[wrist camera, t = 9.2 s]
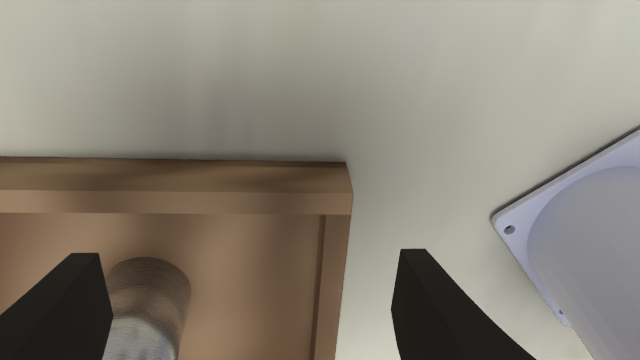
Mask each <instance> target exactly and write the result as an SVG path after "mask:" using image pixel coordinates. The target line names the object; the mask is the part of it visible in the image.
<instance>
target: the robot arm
mask: <svg viewBox="0 0 640 360" xmlns="http://www.w3.org/2000/svg"><path fill="white" fill-rule="evenodd" d="M492 224H493V226H494V227H495V229H496V230H497V232H498V233H499V234H500V236H501V237H502V239H503V240H504V242H505V243H506V245H507V246H508V247H509V249H510V250H511V252H512V253H513V255H514V256H515V258H516V259H517V260H518V262H519V263H520V265H521V266H522V268H523V269H524V270H525V272H526V273H527V275H528V276H529V278H530V279H531V281H532V282H533V283H534V285H535V286H536V288H537V289H538V291H539V292H540V293H541V295H542V296H543V298H544V299H545V301H546V302H547V304H548V305H549V306H550V308H551V309H552V311H553V312H554V314H555V315H556V316H557V318H558V319H559V321H560V322H561V324H562V325H564V326H572V327H573V329H574V330H575V332H576V333H577V335H578V336H579V338H580V339H581V341H582V342H583V344H584V345H585V347H586V348H587V350H588V351H589V353H590V354H591V356H592V357H593V359H594V360H640V129H639V130H637V131H636V132H634V133H632V134H631V135H629V136H627V137H626V138H624V139H622V140H620V141H619V142H617V143H615V144H614V145H612V146H610V147H608V148H607V149H605V150H603V151H602V152H600V153H598V154H597V155H595V156H593V157H591V158H590V159H588V160H586V161H585V162H583V163H581V164H579V165H578V166H576V167H574V168H573V169H571V170H569V171H568V172H566V173H564V174H562V175H561V176H559V177H557V178H556V179H554V180H552V181H550V182H549V183H547V184H545V185H544V186H542V187H540V188H538V189H537V190H535V191H533V192H532V193H530V194H528V195H527V196H525V197H523V198H521V199H520V200H518V201H516V202H515V203H513V204H511V205H509V206H508V207H506V208H504V209H503V210H501V211H499V212H498V213H496V214H495V215H494V216H493V218H492ZM507 226H511V227H510V228H509V229H505V228H506V227H507ZM391 313H392V319H393V325H394V331H395V336H396V341H397V347H398V350H399V354H400V357H401V360H536V359H535V358H534V357H533V356H531V355H530V354H529V353H528V352H527V351H525V350H524V349H523V348H522V347H521V346H519V345H518V344H517V343H516V342H515V341H514V340H513V339H512V338H510V337H509V336H508V335H507V334H506V333H505V332H504V331H503V330H502V329H501V328H500V327H499V326H497V325H496V324H495V323H494V322H493V321H492V320H491V319H490V318H489V317H488V316H487V315H486V314H485V313H484V312H483V311H482V310H481V309H480V308H479V307H478V306H477V305H476V304H475V303H474V302H473V301H472V300H471V299H470V298H469V296H468V295H467V294H466V293H465V292H464V291H463V290H462V289H461V288H460V287H459V286H458V285H457V284H456V282H455V281H454V280H453V279H452V278H451V277H450V276H449V275H448V274H447V272H446V271H445V270H444V269H443V268H442V267H441V266H440V265H439V263H438V262H437V261H436V260H435V259H434V258H433V257H432V256H431V255H430V253H429V252H428V251H427V250H426V249H401V251H400V257H399V263H398V269H397V275H396V281H395V287H394V293H393V299H392V306H391ZM113 316H114V315H113V311H112V307H111V303H110V298H109V294H108V290H107V286H106V282H105V278H104V274H103V269H102V265H101V261H100V257H99V253H71V254H70V255H68V256H67V257H66V258H65V259H64V260H63V261H61V262H60V263H59V264H58V265H57V266H56V267H55V268H53V269H52V270H51V271H50V272H49V273H48V274H47V275H46V276H44V277H43V278H42V279H41V280H40V281H39V282H38V283H37V284H35V285H34V286H33V287H32V288H31V289H30V290H29V291H28V292H26V293H25V294H24V295H23V296H22V297H21V298H19V299H18V300H17V301H16V302H15V303H14V304H12V305H11V306H10V307H9V308H8V309H7V310H6V311H4V312H3V313H2V314H1V315H0V360H102V358H103V355H104V351H105V348H106V344H107V340H108V337H109V332H110V328H111V324H112V320H113Z"/></svg>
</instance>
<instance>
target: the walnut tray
mask: <svg viewBox="0 0 640 360" xmlns="http://www.w3.org/2000/svg"><path fill="white" fill-rule="evenodd" d="M352 202H353V190H352V186H351V182H350V178H349V174H348V170H347V166H346V162H290V161H229V160H168V159H107V158H46V157H0V315H1V314H2V313H3V312H4V311H6V310H7V309H8V308H9V307H10V306H11V305H12V304H14V303H15V302H16V301H17V300H18V299H19V298H21V297H22V296H23V295H24V294H25V293H26V292H28V291H29V290H30V289H31V288H32V287H33V286H34V285H35V284H37V283H38V282H39V281H40V280H41V279H42V278H43V277H44V276H46V275H47V274H48V273H49V272H50V271H51V270H52V269H53V268H55V267H56V266H57V265H58V264H59V263H60V262H61V261H63V260H64V259H65V258H66V257H67V256H68V255H70V254H71V253H99V257H100V261H101V265H102V269H103V274H104V278H105V279H106V277H107V275H108V273H109V272H110V270H111V269H112V268H113V267H114V266H116V265H117V264H118V263H120V262H122V261H125V260H127V259H131V258H137V257H151V258H157V259H161V260H164V261H167V262H169V263H171V264H173V265H175V266H176V267H178V268H179V269H180V270H181V271H182V272H183V273H184V274H185V275H186V276H187V278H188V280H189V282H190V284H191V289H192V293H191V299H190V303H189V308H188V313H187V318H186V323H185V328H184V333H183V337H182V342H181V347H180V352H179V357H178V360H335V352H336V343H337V334H338V325H339V316H340V308H341V299H342V290H343V281H344V272H345V263H346V255H347V246H348V237H349V228H350V219H351V211H352Z"/></svg>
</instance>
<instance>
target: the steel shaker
mask: <svg viewBox="0 0 640 360" xmlns="http://www.w3.org/2000/svg"><path fill="white" fill-rule="evenodd" d="M105 282H106V286H107V290H108V294H109V298H110V303H111V307H112V311H113V315H114V316H113V320H112V324H111V328H110V332H109V337H108V340H107V344H106V348H105V351H104V355H103V358H102V360H178V357H179V352H180V347H181V342H182V337H183V333H184V328H185V323H186V318H187V313H188V308H189V303H190V299H191V293H192V289H191V284H190V282H189V280H188V278H187V276H186V275H185V274H184V273H183V272H182V271H181V270H180V269H179V268H178V267H176V266H175V265H173V264H171V263H169V262H167V261H164V260H161V259H157V258H151V257H137V258H131V259H127V260H125V261H122V262H120V263H118V264H117V265H116V266H114V267H113V268H112V269H111V270H110V272H109V273H108V275H107V277H106V279H105Z"/></svg>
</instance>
